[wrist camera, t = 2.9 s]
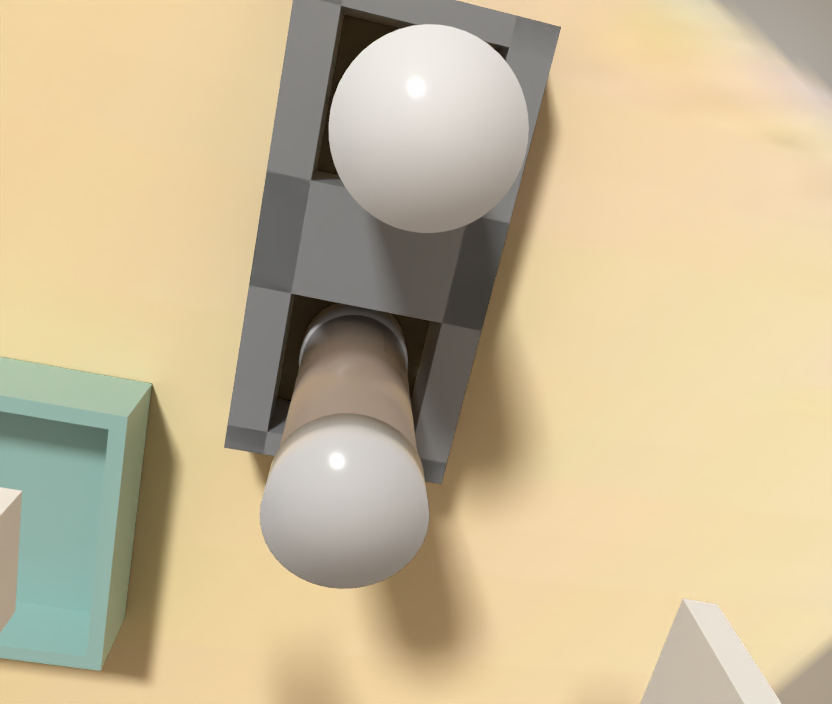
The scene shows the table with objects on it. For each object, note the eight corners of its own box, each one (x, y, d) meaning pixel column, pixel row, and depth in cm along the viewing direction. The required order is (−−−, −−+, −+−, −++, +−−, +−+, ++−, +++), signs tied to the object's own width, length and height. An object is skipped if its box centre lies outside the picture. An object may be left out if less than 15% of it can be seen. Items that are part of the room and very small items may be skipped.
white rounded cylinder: (446, 180, 27) (500, 250, 16) (336, 156, 27) (312, 210, 15) (472, 65, 26) (552, 51, 15) (358, 37, 25) (349, 1, 14)
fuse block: (434, 447, 31) (441, 484, 28) (238, 413, 30) (224, 447, 27) (539, 33, 26) (560, 27, 23) (307, -26, 25) (299, -40, 22)
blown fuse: (394, 405, 30) (409, 599, 19) (294, 387, 30) (248, 575, 18) (416, 311, 29) (446, 458, 17) (312, 290, 28) (274, 428, 17)
